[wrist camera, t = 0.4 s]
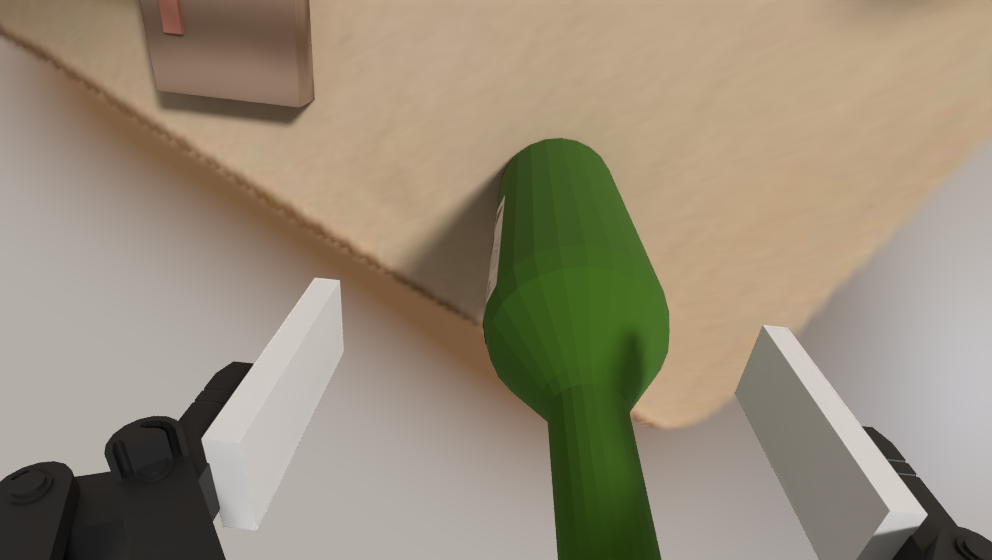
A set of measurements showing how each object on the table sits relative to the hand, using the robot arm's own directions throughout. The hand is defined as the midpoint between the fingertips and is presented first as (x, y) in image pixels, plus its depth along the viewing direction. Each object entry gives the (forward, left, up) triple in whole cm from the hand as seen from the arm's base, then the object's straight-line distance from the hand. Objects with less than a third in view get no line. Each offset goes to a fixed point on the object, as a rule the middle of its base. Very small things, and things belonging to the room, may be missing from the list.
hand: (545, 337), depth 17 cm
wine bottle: (+5, +2, -27) cm, 28 cm away
